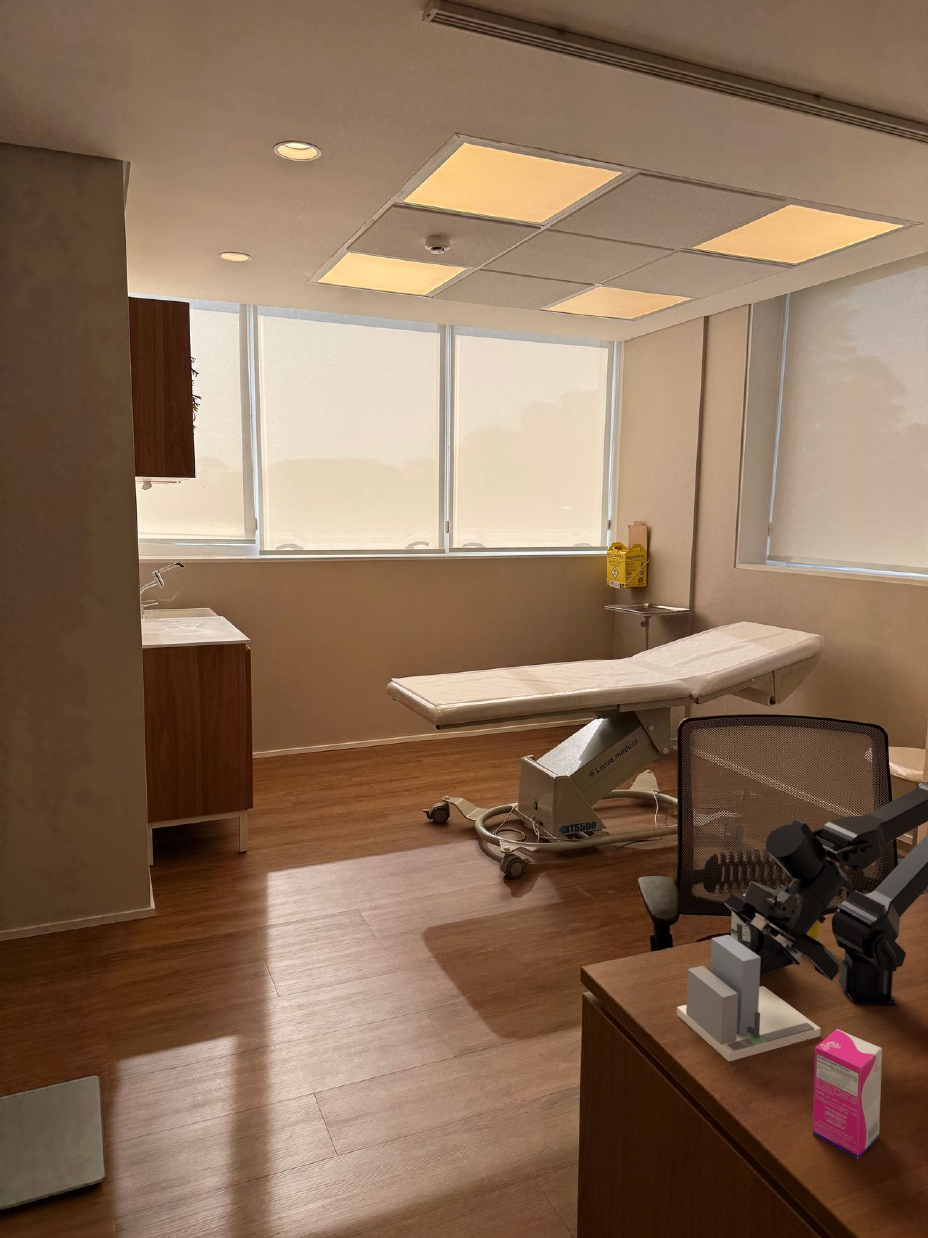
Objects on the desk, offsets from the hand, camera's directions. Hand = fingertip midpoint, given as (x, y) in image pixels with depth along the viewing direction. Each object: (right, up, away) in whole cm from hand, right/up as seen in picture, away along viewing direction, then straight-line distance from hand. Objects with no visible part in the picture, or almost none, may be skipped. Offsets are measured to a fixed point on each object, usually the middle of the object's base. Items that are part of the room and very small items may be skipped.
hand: (744, 980), depth 125 cm
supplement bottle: (+18, -5, +25) cm, 31 cm away
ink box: (+8, -5, +18) cm, 20 cm away
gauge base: (+1, -7, +1) cm, 7 cm away
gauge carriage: (-1, -6, -1) cm, 6 cm away
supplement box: (+5, -10, -21) cm, 24 cm away
